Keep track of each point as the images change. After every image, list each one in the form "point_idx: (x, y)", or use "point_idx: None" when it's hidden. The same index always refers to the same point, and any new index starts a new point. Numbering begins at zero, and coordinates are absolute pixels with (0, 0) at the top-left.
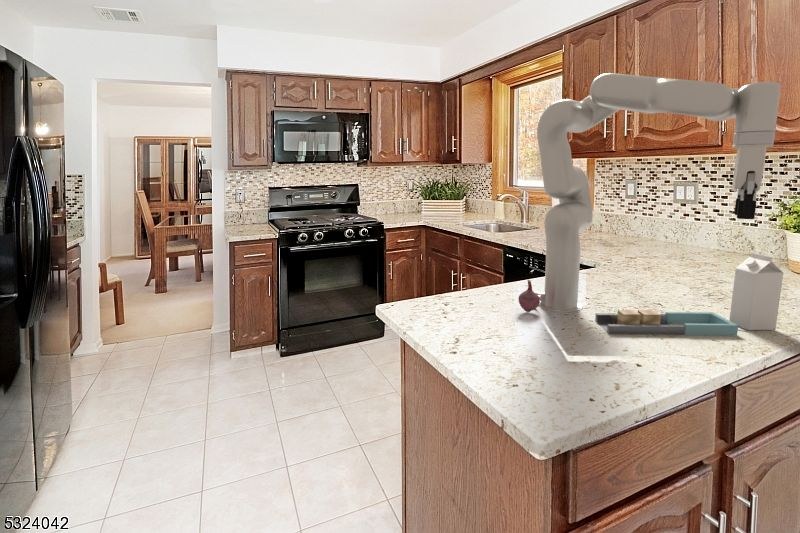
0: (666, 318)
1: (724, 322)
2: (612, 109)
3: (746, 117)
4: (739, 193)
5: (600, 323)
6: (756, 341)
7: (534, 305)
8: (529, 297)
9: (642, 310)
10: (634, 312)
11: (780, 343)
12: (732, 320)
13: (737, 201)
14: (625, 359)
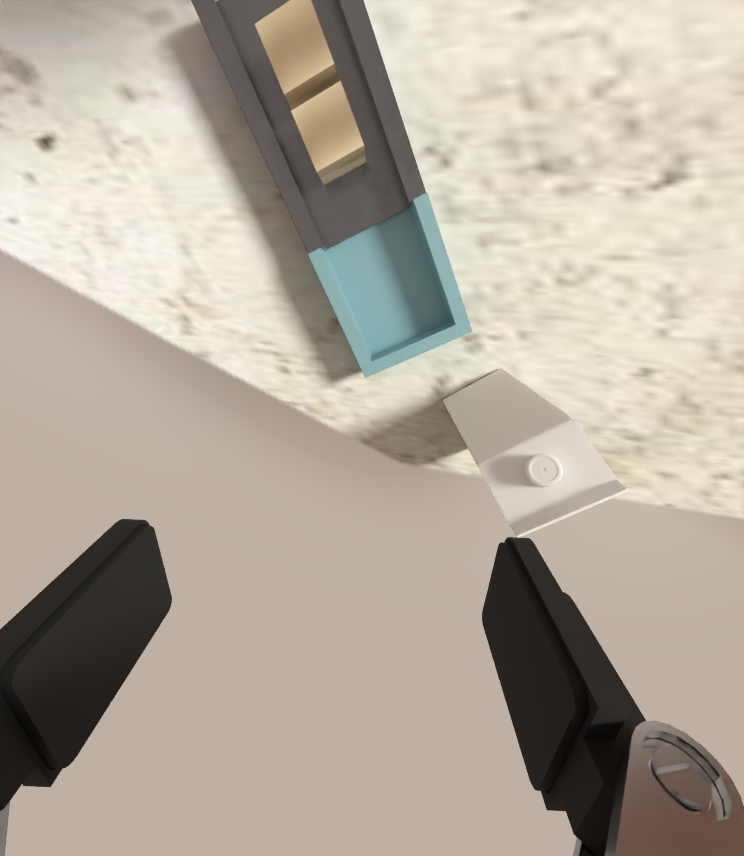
0: (407, 200)
1: (392, 351)
2: None
3: None
4: (616, 842)
5: None
6: (369, 404)
7: None
8: None
9: (342, 99)
10: (300, 68)
11: (376, 441)
12: (493, 375)
13: (558, 671)
14: (60, 102)
